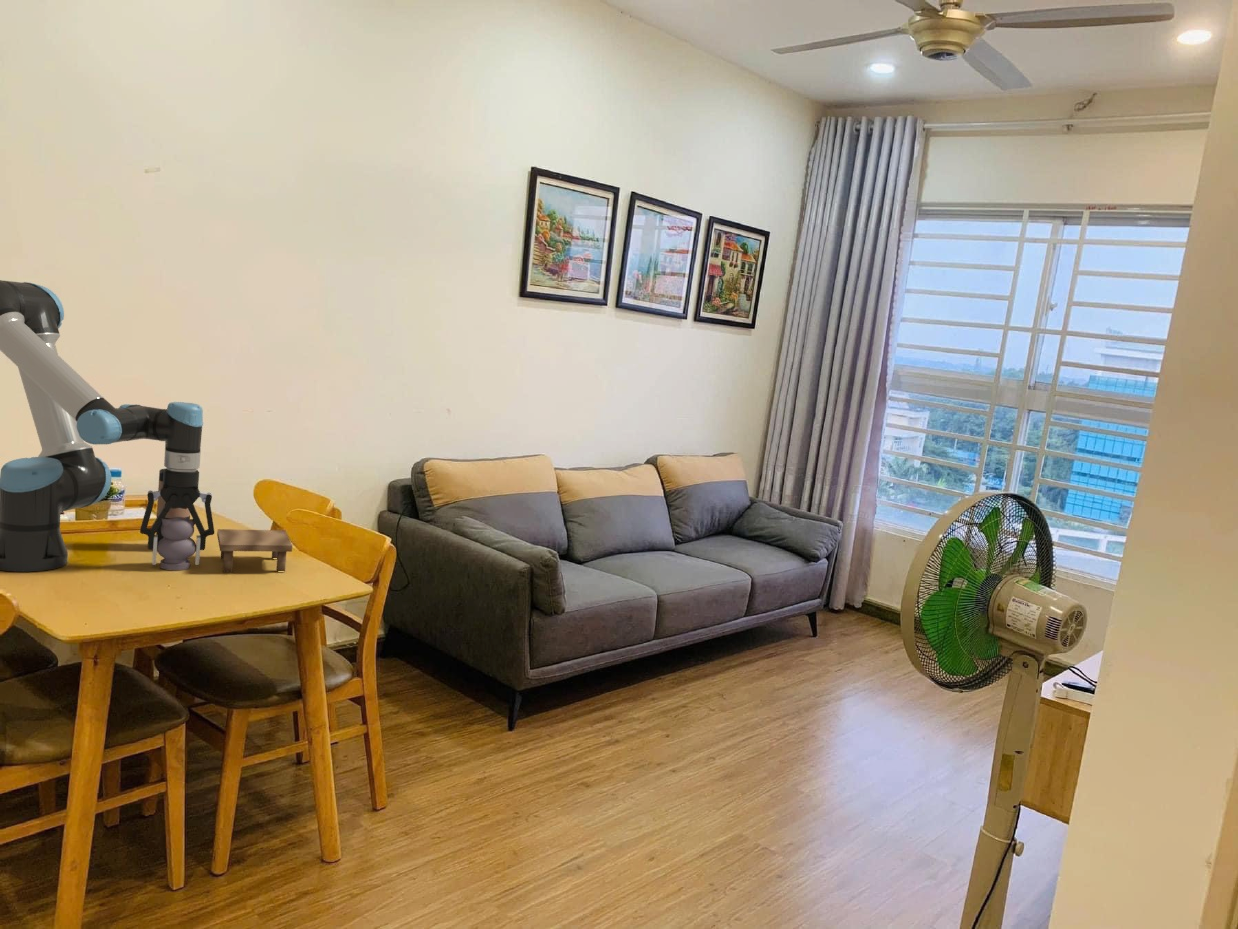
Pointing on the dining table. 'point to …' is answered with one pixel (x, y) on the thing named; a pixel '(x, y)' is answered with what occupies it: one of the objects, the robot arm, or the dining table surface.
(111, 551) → the dining table surface
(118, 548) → the dining table surface
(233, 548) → the footstool
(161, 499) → the travel mug
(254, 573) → the dining table surface
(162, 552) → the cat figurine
